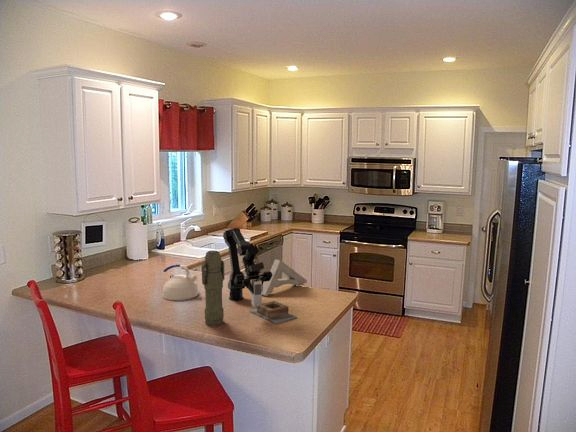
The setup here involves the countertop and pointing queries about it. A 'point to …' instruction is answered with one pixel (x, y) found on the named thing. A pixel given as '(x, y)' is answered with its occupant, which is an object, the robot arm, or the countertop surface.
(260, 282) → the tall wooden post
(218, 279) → the olive cylinder
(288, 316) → the slotted post block
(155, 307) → the countertop surface
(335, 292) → the countertop surface
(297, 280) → the wall bracket
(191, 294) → the kettle
